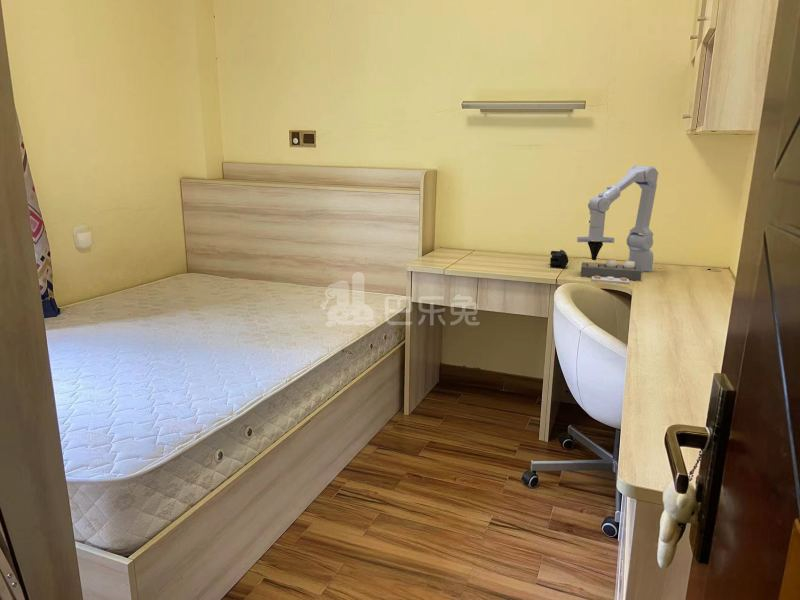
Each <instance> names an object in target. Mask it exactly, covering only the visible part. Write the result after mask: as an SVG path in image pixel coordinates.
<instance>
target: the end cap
mask: <svg viewBox="0 0 800 600" xmlns="http://www.w3.org/2000/svg"><path fill="white" fill-rule="evenodd" d="M550 256H551V257H550V261H549V262H550V263H549V265H550V268H551V269H563V268H565V267H566V266H567V265H568V264H569V257H568V254H567V252H566V251H565V250H563V249H559V250H550Z"/></svg>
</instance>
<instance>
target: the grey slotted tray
mask: <svg viewBox="0 0 800 600" xmlns="http://www.w3.org/2000/svg"><path fill="white" fill-rule="evenodd" d="M588 263H590V262H584V261H582V262H581V266H580V267H581V268H580V277H581V276H582V277H583V278H592V276H595V275H597V276H601V277H608V276H611V277H614V278H621V277H624V278H627V279H629V281H635V282H637V281H638V282H641V279H642V273H643V272H642V271H641V268H640V266H634V269H624V264H617V263H616V268H609V267H606V263H603V262H599V263H598V262H596V263H597V264H598V267H595V266H588ZM582 277H581V278H582Z"/></svg>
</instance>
